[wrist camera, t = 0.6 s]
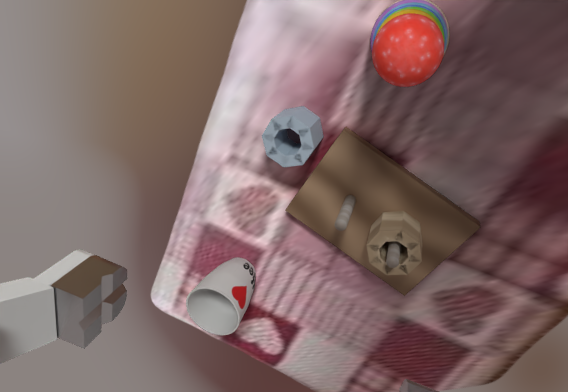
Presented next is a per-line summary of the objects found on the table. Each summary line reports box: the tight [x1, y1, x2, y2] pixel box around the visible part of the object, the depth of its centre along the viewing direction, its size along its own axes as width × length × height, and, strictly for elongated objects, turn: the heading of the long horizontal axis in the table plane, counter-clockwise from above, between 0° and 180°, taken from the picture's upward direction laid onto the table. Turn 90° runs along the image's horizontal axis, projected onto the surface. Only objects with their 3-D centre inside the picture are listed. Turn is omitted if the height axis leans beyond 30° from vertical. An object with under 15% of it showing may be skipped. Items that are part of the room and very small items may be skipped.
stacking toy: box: [371, 0, 450, 87], centre depth 36 cm, size 8×8×19 cm
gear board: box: [286, 127, 480, 296], centre depth 50 cm, size 14×20×8 cm
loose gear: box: [262, 106, 323, 167], centre depth 50 cm, size 6×6×5 cm
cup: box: [186, 258, 256, 335], centre depth 60 cm, size 8×8×10 cm
